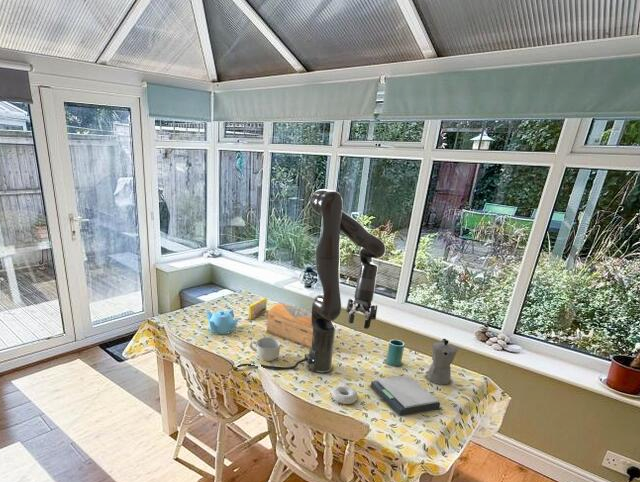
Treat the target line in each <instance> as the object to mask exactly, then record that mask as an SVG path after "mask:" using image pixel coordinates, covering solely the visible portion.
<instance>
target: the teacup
mask: <svg viewBox="0 0 640 482" xmlns="http://www.w3.org/2000/svg"><path fill="white" fill-rule="evenodd" d="M253 344H254V345H255V347H256V348H255V347H254V346H253ZM249 349H251V350H252V351H253V352H254V353H255V354H256V355H257V357H258V358H259V359H260V360H262V361H264V362H271V361H274V360H276V359H277V358H279V355H280V351H281V341H280V340H278V339H277V338H274V337H271V336H270V337H269V336H266V337H261V338H259V339H257V341H256V340H251V341H250V342H249Z"/></svg>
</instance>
